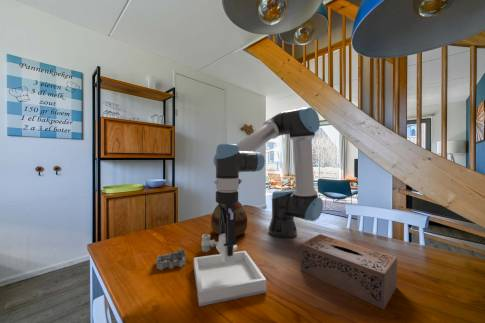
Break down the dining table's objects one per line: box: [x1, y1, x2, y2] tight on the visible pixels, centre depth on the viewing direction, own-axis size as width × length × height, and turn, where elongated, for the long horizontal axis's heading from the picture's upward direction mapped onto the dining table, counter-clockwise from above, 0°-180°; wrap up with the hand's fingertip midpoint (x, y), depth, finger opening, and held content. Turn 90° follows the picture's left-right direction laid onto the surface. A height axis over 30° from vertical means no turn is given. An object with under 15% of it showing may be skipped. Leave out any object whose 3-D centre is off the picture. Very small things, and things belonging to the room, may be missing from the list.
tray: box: [193, 250, 267, 307], centre depth 68 cm, size 20×20×4 cm
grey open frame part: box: [155, 248, 187, 271], centre depth 78 cm, size 11×8×4 cm
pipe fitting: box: [215, 233, 238, 262], centre depth 68 cm, size 6×7×8 cm
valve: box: [200, 233, 219, 253], centre depth 90 cm, size 7×7×12 cm
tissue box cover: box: [299, 233, 398, 310], centre depth 70 cm, size 26×14×10 cm, turn 42°
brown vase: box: [210, 178, 248, 237], centre depth 111 cm, size 20×20×30 cm
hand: (226, 258), depth 68 cm, fingers closed on pipe fitting, 7 cm apart
